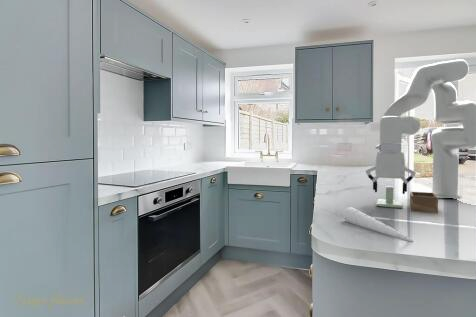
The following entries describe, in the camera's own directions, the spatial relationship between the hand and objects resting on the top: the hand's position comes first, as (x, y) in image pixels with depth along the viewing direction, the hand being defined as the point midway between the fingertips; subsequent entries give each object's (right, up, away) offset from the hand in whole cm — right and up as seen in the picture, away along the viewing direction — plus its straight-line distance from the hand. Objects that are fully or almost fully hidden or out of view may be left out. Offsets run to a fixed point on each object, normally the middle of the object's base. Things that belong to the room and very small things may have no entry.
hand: (389, 192), depth 119 cm
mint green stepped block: (0, -6, 0) cm, 6 cm away
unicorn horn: (-20, -7, -32) cm, 38 cm away
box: (+8, -6, -7) cm, 13 cm away
